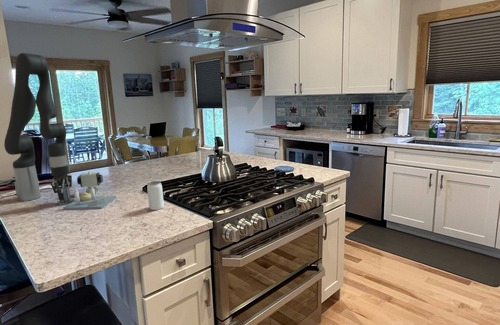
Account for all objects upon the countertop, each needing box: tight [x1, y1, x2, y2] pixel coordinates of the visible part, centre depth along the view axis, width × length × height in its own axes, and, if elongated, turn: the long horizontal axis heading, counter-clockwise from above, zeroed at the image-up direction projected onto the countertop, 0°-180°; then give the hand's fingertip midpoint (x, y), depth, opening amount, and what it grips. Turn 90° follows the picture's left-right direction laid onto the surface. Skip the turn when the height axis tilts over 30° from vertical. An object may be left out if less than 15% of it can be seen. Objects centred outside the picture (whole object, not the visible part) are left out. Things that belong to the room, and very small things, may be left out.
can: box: [146, 180, 165, 211], centre depth 144 cm, size 6×6×12 cm
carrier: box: [62, 187, 117, 211], centre depth 153 cm, size 18×16×8 cm
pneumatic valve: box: [76, 171, 104, 194], centre depth 170 cm, size 6×12×12 cm, turn 102°
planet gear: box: [55, 186, 75, 206], centre depth 156 cm, size 8×8×8 cm
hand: (64, 198), depth 156 cm, fingers closed on planet gear, 4 cm apart
